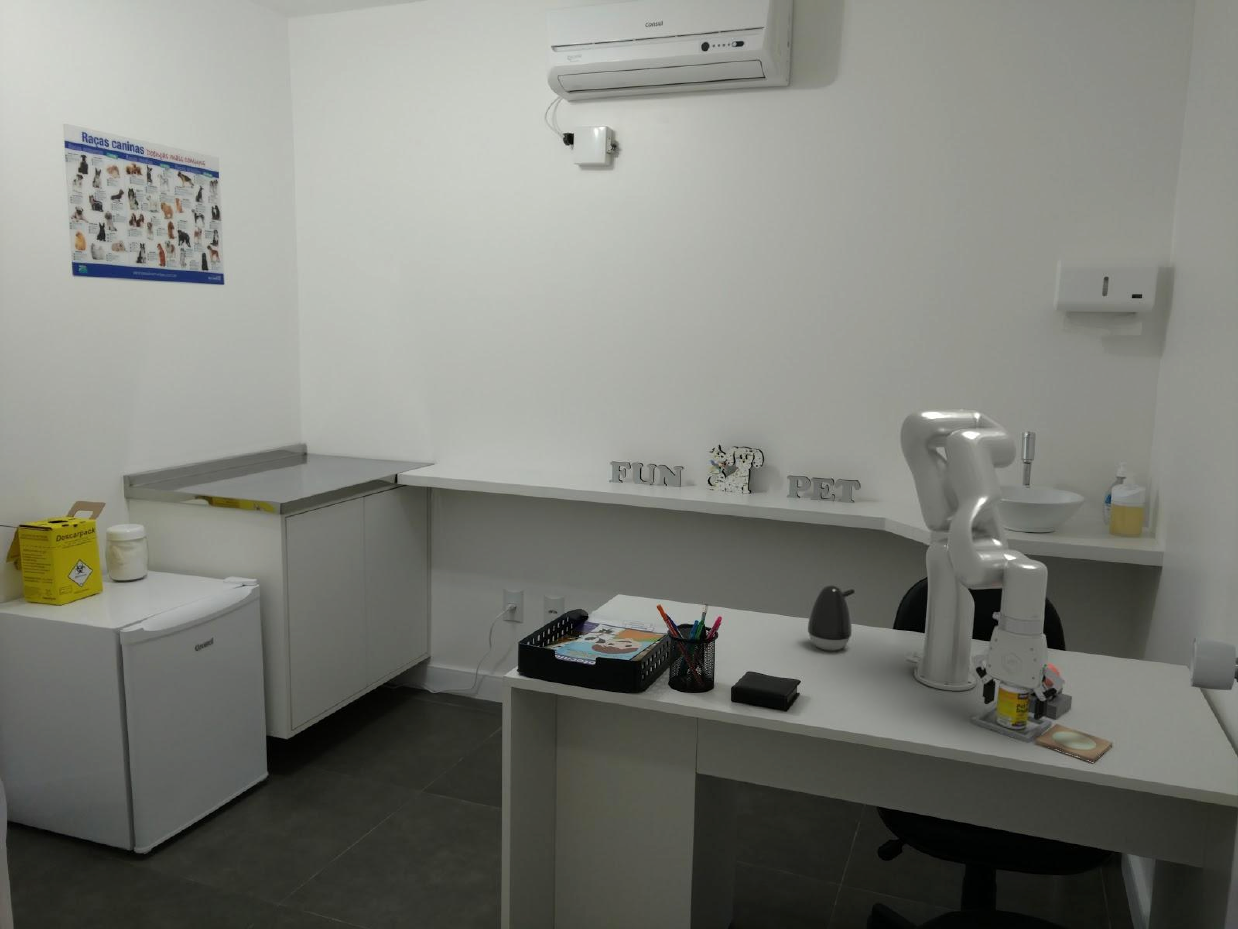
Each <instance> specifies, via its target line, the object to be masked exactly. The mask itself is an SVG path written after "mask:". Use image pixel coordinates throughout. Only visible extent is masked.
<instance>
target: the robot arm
mask: <svg viewBox="0 0 1238 929" xmlns="http://www.w3.org/2000/svg"><path fill="white" fill-rule="evenodd" d="M899 434H900V438H899V439H900V447H901V451H902V454H903V456H904V459H905V461H906V464H907V466H908V468H909V470H910V472H911V475H912V477H913V481H914V485H915V490H916V494H917V499H918V502H919V506H920V510H921V511H920V512H921V515H922V518H923V522H924V524H925V526H926V528H927V529H928V530H929V531H930V532H932V533H935V534H947V537H946V538H940V539H938V540H935V541H934V542H933V543H931V544H929V546H928V548H927V550H926V553H925V554H926V555H925V564H926V575H927V604H926V615H925V616H926V617H925V627H924V628H925V629H924V640H923V641H924V642H923V652H921V653H920V652H918V651H915V650H912V649H909V650H908V651H907V654H906V657H907V658H906V661H907V662H909V663H914V664H916V665H917V667H916V668H914V673H913V674H914V675H913V676H914V678H915V679H916V681H919V682H920V683H922V684H923V685H926V686H929V687H932V688H935V689H938V690H939V689H940V690H942V691H943V690H944V691H952V692H953V691H957V692H958V691H959V692H960V691H968V690H971V689H972V688H974V687H975V686H976V684H977V679H976V677H975V675H973V674H972V673H971V672H970V665H971V664H970V661H972V664H973V667H974V668H975V672H976V674H977V675H978V676H979V678H980V680H981V681H980V682H981V683H982V686H983V688H982V697H983V704H985V705H989V704H991V703H992V702H994V701H995V696H996V695H995V694H996V684H997V683H996V681H995V680H997V681H999V682H1000V681H1003V682H1007V683H1010V684H1014V685H1017V686H1020V687H1024V688H1028V689H1033V690H1034V691H1035V693H1036V694H1037V696H1038V698H1037V699H1036V700H1035V709H1034V712H1033V716H1034V719H1035V720H1039V719H1040V718H1043V717H1044V716H1045V715H1046V712H1047V702H1048V698H1049V697H1051V696H1053V695H1055V694H1056V693H1058V692H1059V690H1060V689H1061V688H1062V687H1064V686H1065V684H1066V680H1064V678H1062V677H1061V675H1060V676H1058V675H1057V674H1056V673H1055V672H1053V671H1052V670H1051V669H1050V668H1048V664H1049V663H1048V662H1049V661H1048V660H1049V659H1048V645H1047V644H1048V643H1047V638H1046V637H1047V635H1046V634H1045V633H1044V632H1043V633H1042V630H1043V631H1044V624H1043V619H1044V620H1045V607H1046V596H1047V585H1048V574H1049V573H1048V567H1047V566H1046V564H1044V563H1043V562H1041V561H1038V560H1035V559H1031V558H1029V557H1028V556H1026V555H1025V554H1023V553H1022V552H1020V551H1018V550H1016V549H1009V543H1008V540H1007V537H1006V536H1007V535H1006V533H1005V530H1004V525H1003V521H1002V519H1001V518H1002V517H1001V514H1000V510H999V508H998V506H997V505H999V504H1000V503H1001V502H1002V501H1003V500H1002V499H1003V492H1002V489H1001V486H1000V482H999V480H998V475H997V471H996V469H1005V468H1008V467H1010V466H1011V465H1012V464H1013V463H1014V461H1015V459H1016V455H1017V445H1016V442H1015V440H1014V438H1013V436H1012V435H1011V434H1010V432H1009V431H1008V430H1007V429H1006V428H1005V427H1003V426H1002V425H1000V424H999V423H998V422H996V421H995V420H993V419H992V418H990V417H989V416H987V415H985V414H984V413H982V412H981V411H978V410H974V409H968V408H967V409H964V408H963V409H962V408H961V409H960V408H958V409H957V408H954V409H953V408H927V409H921V410H917V411H914V412H911V413H910V414H908V415H907V416H906V417H905V418H904V420H903V421H902V425H901V427H900V433H899ZM938 448H943V449H944V454H945V457H946V458H945V457H944V456H943V454H941V453H940V452H938V450H937V449H938ZM969 589H970V590H987V589H988V590H989V589H1001V600H1000V610H1001V611H999V612H996V611H994V612H993V614H992V619H994V620H996V621H998V624H997V625H995V626H994V629H993V630H992V635H991V638H990V642H989V646H988V652H986V653H982V654H977V655H974V656H972V657H971V652H972V642H973V641H972V640H973V630H974V618H975V601H974V598H973V596H972V594H971V592H970V590H969ZM983 662H985V663H986V664H985V666H984V664H983ZM1047 678H1048V679H1050V680H1051V681H1052V682H1053V686H1052V687H1051V688H1050V689H1049V690H1048V688H1047V687H1046V685H1045V684H1044V683H1045V682H1046V679H1047ZM994 679H995V680H994ZM1045 717H1046V716H1045Z"/></svg>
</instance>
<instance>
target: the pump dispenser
mask: <svg viewBox="0 0 1238 929" xmlns="http://www.w3.org/2000/svg"><path fill="white" fill-rule="evenodd" d="M855 593H856V591H855V590H854V588H851V589H847V590H845V591H843V590H842V589H841V588H840V586H839V587H838V585H834V584H828V585H826V586H823V588H821V590H820V591H819V593H818V594H817V596H816V598H815V600H814V602H813V605H812V607H811V610H810V614H809V618H808V623H807V632H808V634H809V635H808V636H809V638H810V641H811V642H812V644H813V645H815V646H816V648H819V649H820V650H823V651H831V652H832V651H838V650H839V651H840V650H841V649H843V648H844V647H846V645H847V644H848V642H849V640H850V638H851V637H852V631H853V627H852V617H851V612H850V608H849V604H848V601H847V598H848V597H849V596H852V595H853V594H855Z"/></svg>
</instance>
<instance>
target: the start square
mask: <svg viewBox="0 0 1238 929" xmlns="http://www.w3.org/2000/svg"><path fill="white" fill-rule="evenodd" d="M996 711H997V702H995V703H994V704H992V705H991V706H989V707H987V708H986V709H984V710H982V711H981V712H979V713H978V714H976V715H975V716H972V717H971V719H970V723H971V724H973V725H976V726H980V727H982V726H983V727H982V728H985V727H986V728H985V729H988V730H990V729H993V730H995V731H994V732H996V731H997V733H999V732H1002V733H1004V734H1003V735H1005V734H1006V736H1008V735H1009V737H1011V736H1013V737H1012V738H1014V737H1016V738H1015V739H1017V738H1018V739H1017V740H1019V739H1021V740H1020V741H1022V740H1023V741H1022V742H1025V741H1026V742H1025V743H1030V742H1032V740H1034V739H1035V738H1037V737H1039V735H1040V734H1041V735H1042V734H1043V733H1044V732H1046V731H1047V729H1050V728H1051V727H1052V723H1053V722H1052V721H1051V720H1049V719H1046V718H1043V717H1042V718H1040V719H1039V720H1035V719H1034V714H1031V713H1030V714H1029V713H1028V716H1027V721H1030V722H1034V723H1036V722H1037V724H1038V725H1037V726H1036V727H1035V728H1033V729H1032V730H1030V731H1029V732H1027V733H1026V734H1024V733H1021V732H1018V731H1015V730H1013V729H1012V730H1011V729H1010V728H1006V727H1004V726H1001V725H996V724H995V723H991V722H988V721H985V719H986V718H988V717H989V716H991V715H992V714H994V713H996ZM1039 723H1040V724H1039ZM993 730H992V731H993ZM1002 733H1001V734H1002Z"/></svg>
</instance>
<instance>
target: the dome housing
mask: <svg viewBox="0 0 1238 929" xmlns="http://www.w3.org/2000/svg"><path fill="white" fill-rule="evenodd" d="M1037 698H1038V697H1036V693H1035V691H1033V690H1031V689H1030V698H1029V707H1028V712H1031V713H1034V709H1035V700H1036V699H1037ZM1072 702H1073V696H1072V695H1069V694H1065V693H1063V692H1062V693H1061V694H1058V695H1053V696H1052V701H1048V702H1047V712H1046V715H1045V717H1047V718H1049V719H1050V718H1051V719H1053V720H1057V719H1058V718H1060V717H1061V716H1063V715H1064V714H1065V713H1067V712H1068V711H1069V710H1070V709H1072ZM1067 710H1068V711H1067ZM1060 715H1061V716H1060ZM1059 716H1060V717H1059Z"/></svg>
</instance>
